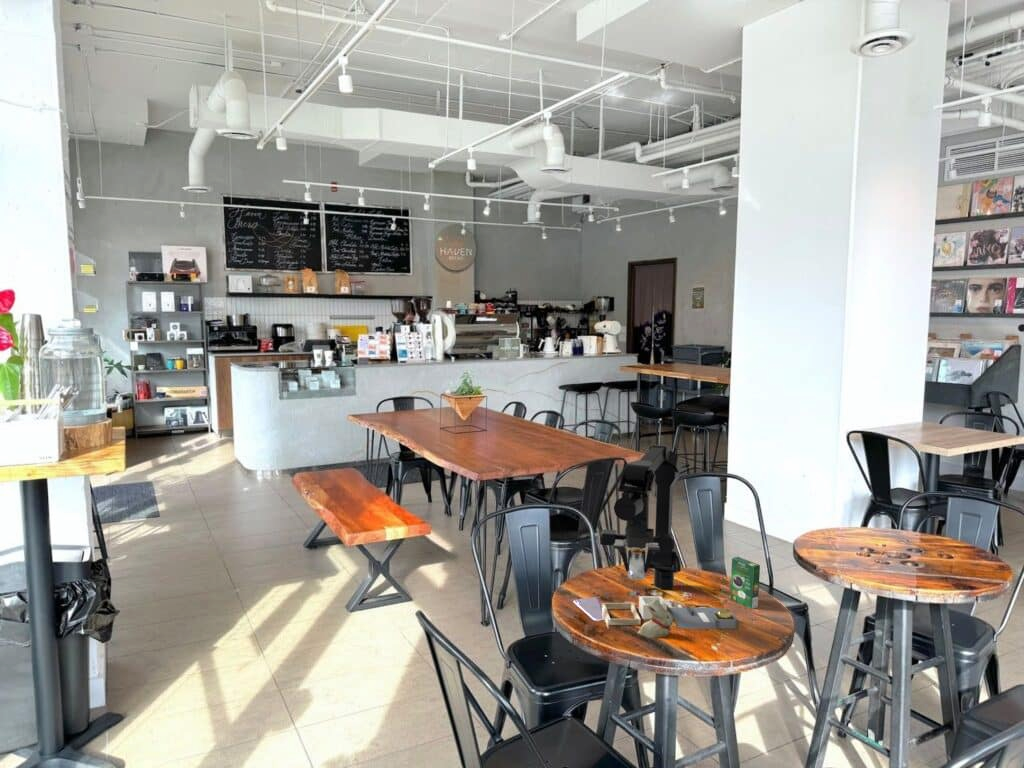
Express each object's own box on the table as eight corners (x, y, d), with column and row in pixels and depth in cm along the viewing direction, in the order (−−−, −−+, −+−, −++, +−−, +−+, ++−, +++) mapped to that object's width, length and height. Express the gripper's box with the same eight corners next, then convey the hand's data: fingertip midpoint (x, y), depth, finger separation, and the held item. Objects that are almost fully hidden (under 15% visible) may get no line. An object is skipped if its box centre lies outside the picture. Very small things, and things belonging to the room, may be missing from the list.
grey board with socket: (664, 611, 194) (664, 600, 193) (721, 611, 194) (721, 600, 194) (677, 633, 180) (677, 620, 179) (738, 633, 180) (738, 620, 180)
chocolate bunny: (664, 646, 172) (665, 606, 171) (634, 638, 177) (635, 598, 176) (674, 639, 176) (675, 599, 176) (645, 631, 181) (645, 592, 180)
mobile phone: (594, 619, 187) (571, 599, 201) (594, 622, 187) (571, 602, 201) (621, 615, 189) (596, 595, 203) (621, 619, 189) (596, 599, 203)
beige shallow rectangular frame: (602, 612, 193) (602, 602, 193) (632, 612, 193) (632, 602, 193) (608, 629, 182) (608, 619, 182) (640, 629, 182) (640, 619, 182)
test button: (715, 617, 184) (716, 607, 184) (728, 617, 184) (728, 607, 184) (719, 622, 181) (719, 612, 181) (732, 622, 181) (732, 612, 181)
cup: (638, 614, 191) (639, 596, 191) (661, 614, 192) (661, 596, 191) (643, 623, 185) (643, 604, 185) (666, 623, 186) (666, 604, 185)
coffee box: (759, 611, 194) (761, 564, 193) (752, 613, 193) (753, 565, 192) (737, 601, 201) (738, 555, 200) (729, 603, 200) (730, 557, 199)
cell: (627, 578, 185) (627, 550, 185) (628, 573, 189) (628, 545, 189) (644, 580, 184) (645, 551, 184) (645, 574, 189) (645, 547, 188)
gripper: (598, 517, 180) (597, 578, 181) (675, 522, 176) (673, 584, 177) (602, 507, 191) (601, 565, 192) (674, 512, 187) (672, 571, 188)
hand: (636, 571), depth 187 cm, fingers closed on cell, 4 cm apart
